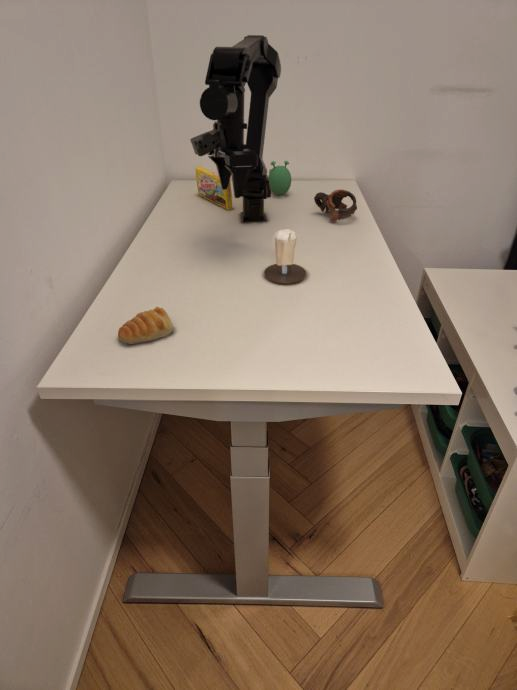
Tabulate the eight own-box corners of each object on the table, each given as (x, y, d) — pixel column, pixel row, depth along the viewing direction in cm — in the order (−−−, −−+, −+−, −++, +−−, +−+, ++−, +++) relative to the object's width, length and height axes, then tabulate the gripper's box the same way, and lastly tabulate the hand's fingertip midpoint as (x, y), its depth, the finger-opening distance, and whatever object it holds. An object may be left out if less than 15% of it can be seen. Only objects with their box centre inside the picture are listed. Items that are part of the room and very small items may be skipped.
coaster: (261, 266, 104) (261, 264, 104) (301, 264, 105) (301, 261, 105) (267, 286, 97) (267, 283, 97) (309, 283, 98) (310, 280, 98)
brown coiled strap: (355, 212, 132) (363, 192, 124) (345, 237, 128) (353, 218, 120) (315, 197, 133) (321, 176, 125) (304, 222, 129) (309, 202, 121)
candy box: (197, 195, 143) (194, 167, 138) (202, 193, 144) (200, 166, 139) (226, 210, 132) (225, 180, 127) (233, 208, 133) (232, 179, 128)
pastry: (129, 352, 79) (125, 334, 77) (112, 335, 83) (108, 317, 81) (177, 332, 84) (174, 314, 82) (158, 316, 88) (156, 299, 86)
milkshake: (278, 278, 99) (279, 234, 93) (271, 267, 103) (272, 224, 97) (298, 276, 99) (301, 231, 94) (291, 265, 104) (292, 221, 98)
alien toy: (285, 189, 147) (287, 156, 141) (293, 197, 141) (295, 163, 135) (264, 191, 145) (264, 157, 139) (271, 199, 139) (272, 164, 133)
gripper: (182, 113, 103) (186, 186, 111) (205, 121, 88) (207, 205, 96) (230, 114, 107) (230, 184, 114) (260, 121, 92) (258, 202, 99)
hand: (230, 193), depth 106 cm, fingers open, 9 cm apart
